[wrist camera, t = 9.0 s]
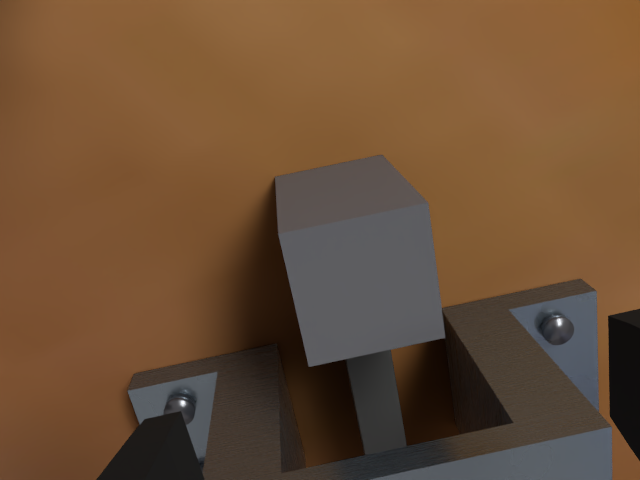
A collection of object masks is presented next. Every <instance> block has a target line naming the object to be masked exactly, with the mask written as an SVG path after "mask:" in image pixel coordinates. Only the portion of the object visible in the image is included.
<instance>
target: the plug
mask: <svg viewBox="0 0 640 480" xmlns="http://www.w3.org/2000/svg"><path fill="white" fill-rule="evenodd" d="M275 186H276V204H277V221H278V235H279V239H280V244H281V248H282V253H283V257H284V261H285V266H286V270H287V274H288V279H289V283H290V287H291V292H292V296H293V300H294V305H295V309H296V313H297V318H298V322H299V326H300V331H301V335H302V339H303V344H304V348H305V352H306V357H307V361H308V365H309V367H311V366H316V365H321V364H325V363H330V362H335V361H339V360H344V359H345V363H346V367H347V372H348V377H349V382H350V387H351V392H352V397H353V402H354V407H355V412H356V417H357V422H358V427H359V432H360V436H361V441H362V446H363V451H364V455H368V454H373V453H378V452H382V451H387V450H391V449H396V448H401V447H405V446H407V444H406V438H405V432H404V426H403V420H402V414H401V408H400V403H399V397H398V391H397V385H396V379H395V373H394V367H393V361H392V355H391V349H396V348H400V347H405V346H410V345H414V344H419V343H424V342H428V341H433V340H438V339H442V338H445V331H444V323H443V315H442V307H441V299H440V292H439V284H438V276H437V268H436V260H435V252H434V245H433V237H432V229H431V221H430V213H429V205H428V202H427V201H426V200H425V199H424V198H423V197H422V196H421V195H420V194H419V193H418V192H417V191H416V189H415V188H414V187H413V186H412V185H411V184H410V183H409V182H408V181H407V180H406V179H405V178H404V177H403V176H402V175H401V174H400V173H399V172H398V171H397V170H396V169H395V168H394V167H393V166H392V165H391V163H390V162H389V161H388V160H387V159H386V158H385V157H384V156H383V155H378V156H373V157H368V158H363V159H359V160H354V161H349V162H344V163H339V164H335V165H330V166H325V167H320V168H315V169H311V170H306V171H301V172H296V173H291V174H286V175H282V176H277V177H275Z"/></svg>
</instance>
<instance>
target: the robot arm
mask: <svg viewBox="0 0 640 480" xmlns="http://www.w3.org/2000/svg"><path fill="white" fill-rule="evenodd" d="M608 328H609V391H610V417H611V419H612V420H613V422H614V423H615V425H616V426H617V428H618V429H619V431H620V432H621V434H622V435H623V437H624V439H625V440H626V442H627V443H628V445H629V446H630V448H631V449H632V450H633V452H634V453H635V455H636V456H637V458H638V459H639V460H640V309H637V310H633V311H628V312H624V313H619V314H615V315H610V316H608ZM97 480H205V479H204V476H203V473H202V470H201V467H200V465H199V462H198V459H197V456H196V453H195V450H194V447H193V444H192V441H191V438H190V436H189V433H188V430H187V427H186V424H185V421H184V418H183V415H182V412H181V411H179V412H174V413H170V414H165V415H161V416H156V417H152V418H147V419H144V420H143V422H142V423H141V424H140V425H139V426H138V427H137V429H136V430H135V431H134V432H133V434H132V435H131V436H130V437H129V439H128V440H127V441H126V442H125V444H124V445H123V446H122V448H121V449H120V450H119V451H118V453H117V454H116V455H115V457H114V458H113V459H112V460H111V462H110V463H109V464H108V466H107V467H106V468H105V469H104V471H103V472H102V473H101V475H100V476H99V477H98V478H97Z"/></svg>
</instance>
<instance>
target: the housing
mask: <svg viewBox="0 0 640 480" xmlns="http://www.w3.org/2000/svg"><path fill="white" fill-rule="evenodd" d="M442 315H443V323H444V331H445V345H446V353H447V360H448V368H449V376H450V384H451V392H452V400H453V407H454V415H455V423H456V426H457V428H458V430H459V432H460V435H456V436H451V437H447V438H442V439H437V440H433V441H428V442H424V443H419V444H414V445H410V446H405V447H401V448H396V449H391V450H387V451H382V452H378V453H373V454H368V455H364V456H359V457H355V458H350V459H345V460H341V461H336V462H331V463H327V464H322V465H318V466H313V467H308V468H306V461H305V455H304V451H303V447H302V442H301V438H300V434H299V430H298V426H297V422H296V418H295V414H294V410H293V406H292V402H291V398H290V394H289V390H288V386H287V382H286V378H285V374H284V370H283V366H282V362H281V358H280V354H279V350H278V346H277V343H276V344H272V345H267V346H262V347H258V348H253V349H248V350H244V351H239V352H234V353H229V354H225V355H220V356H215V357H211V358H206V359H201V360H197V361H192V362H187V363H182V364H178V365H173V366H168V367H164V368H159V369H154V370H150V371H145V372H140V373H135V374H134V375H133V378H132V380H131V383H130V385H129V388H128V394H129V397H130V399H131V402H132V405H133V407H134V410H135V413H136V416H137V418H138V421H139V424H141V423H142V422H143V420H144V419H147V418H152V417H156V416H161V415H165V414H170V413H174V412H179V411H181V412H182V415H183V418H184V421H185V424H186V427H187V430H188V433H189V436H190V438H191V441H192V444H193V447H194V450H195V453H196V456H197V459H198V462H199V465H200V467H201V470H202V473H203V476H204V479H205V480H612V427H611V425H610V424H609V423H608V422H607V421H606V420H605V419H604V418H603V416H602V415H601V414H600V413H599V399H598V345H597V291H596V290H595V289H593V288H592V287H591V286H590V285H588V284H587V283H586V282H584V281H583V280H582V279H577V280H573V281H568V282H563V283H558V284H554V285H549V286H544V287H540V288H535V289H530V290H526V291H521V292H516V293H511V294H507V295H502V296H497V297H493V298H488V299H483V300H479V301H474V302H469V303H464V304H460V305H455V306H450V307H446V308H442Z"/></svg>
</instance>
